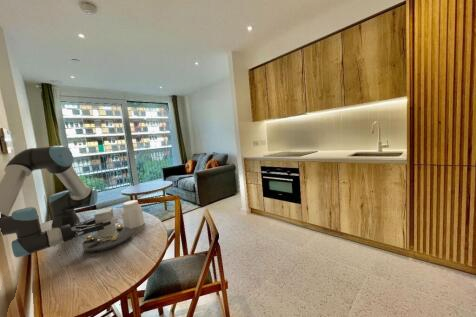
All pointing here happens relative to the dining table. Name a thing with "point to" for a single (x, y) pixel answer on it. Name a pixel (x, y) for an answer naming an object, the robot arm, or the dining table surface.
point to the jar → (132, 214)
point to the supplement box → (104, 216)
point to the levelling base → (107, 240)
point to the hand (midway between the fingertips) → (114, 217)
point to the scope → (68, 220)
